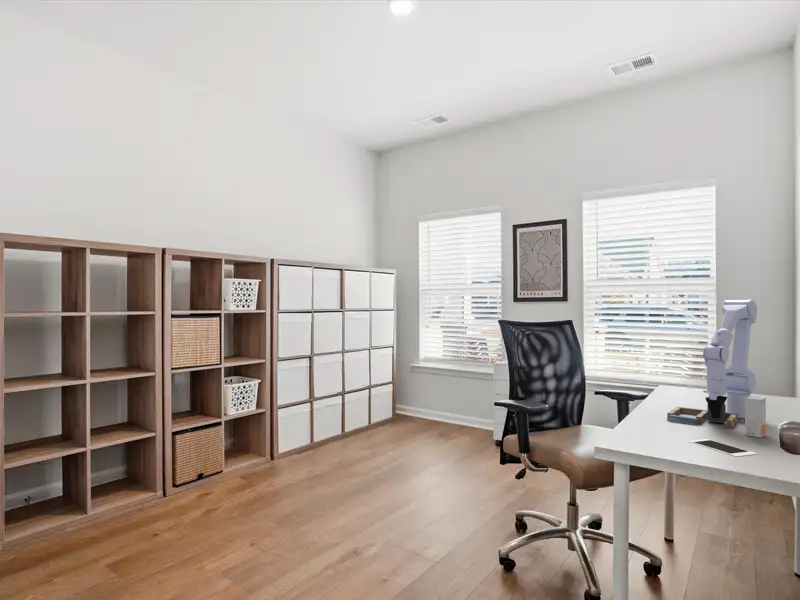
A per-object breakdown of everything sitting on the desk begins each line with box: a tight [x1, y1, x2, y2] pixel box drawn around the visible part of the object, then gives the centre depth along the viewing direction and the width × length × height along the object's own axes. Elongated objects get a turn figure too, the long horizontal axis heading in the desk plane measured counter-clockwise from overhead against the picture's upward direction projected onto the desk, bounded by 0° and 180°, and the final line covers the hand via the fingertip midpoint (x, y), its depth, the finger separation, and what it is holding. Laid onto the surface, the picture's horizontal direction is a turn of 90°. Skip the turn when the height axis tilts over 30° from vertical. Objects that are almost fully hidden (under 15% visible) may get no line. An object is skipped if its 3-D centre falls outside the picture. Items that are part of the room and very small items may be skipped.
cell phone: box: [687, 438, 758, 458], centre depth 143 cm, size 8×16×1 cm, turn 15°
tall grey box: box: [706, 403, 727, 424], centre depth 174 cm, size 4×5×6 cm
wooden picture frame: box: [666, 406, 739, 429], centre depth 177 cm, size 17×20×2 cm
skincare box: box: [744, 395, 767, 438], centre depth 157 cm, size 6×4×12 cm
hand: (716, 417), depth 174 cm, fingers closed on tall grey box, 3 cm apart
